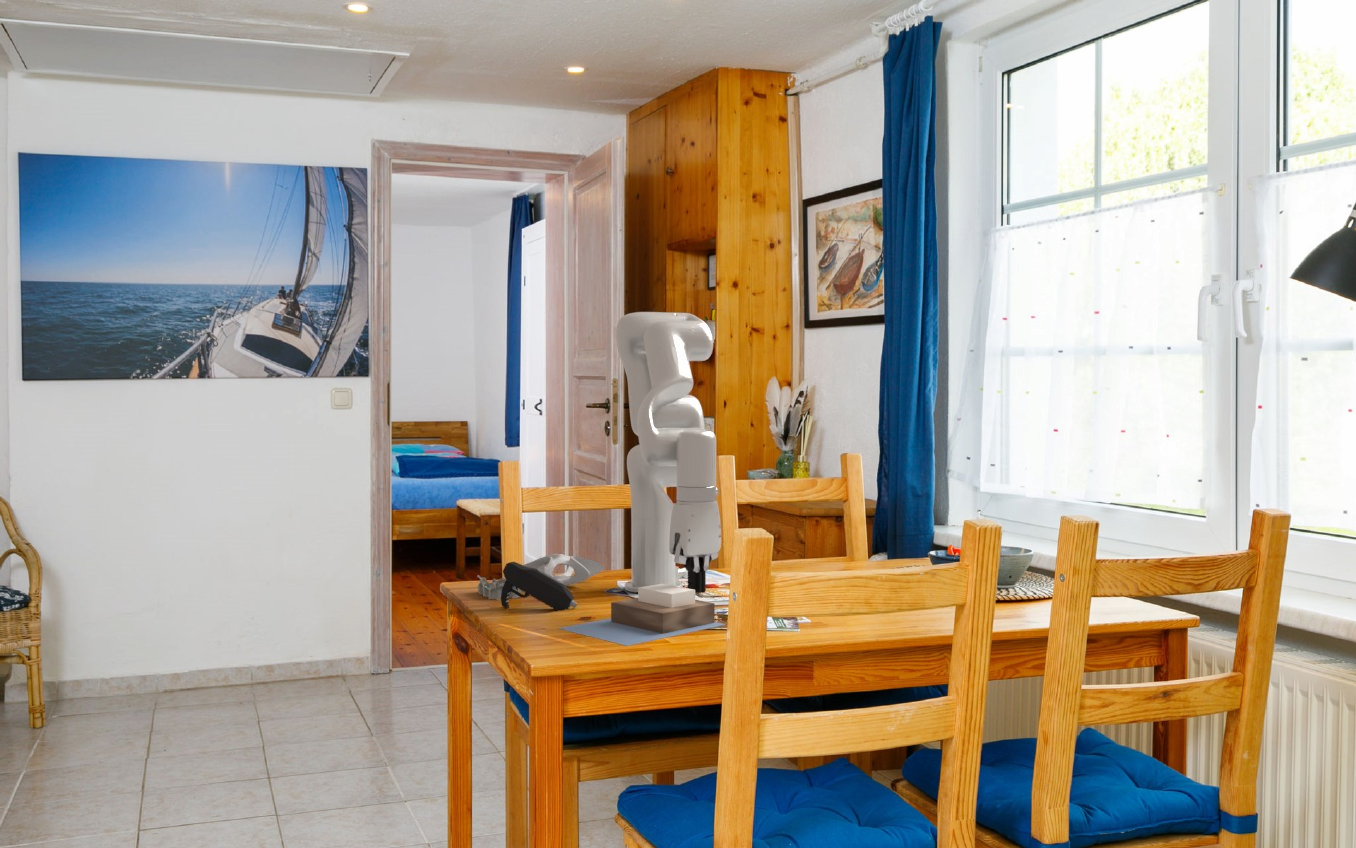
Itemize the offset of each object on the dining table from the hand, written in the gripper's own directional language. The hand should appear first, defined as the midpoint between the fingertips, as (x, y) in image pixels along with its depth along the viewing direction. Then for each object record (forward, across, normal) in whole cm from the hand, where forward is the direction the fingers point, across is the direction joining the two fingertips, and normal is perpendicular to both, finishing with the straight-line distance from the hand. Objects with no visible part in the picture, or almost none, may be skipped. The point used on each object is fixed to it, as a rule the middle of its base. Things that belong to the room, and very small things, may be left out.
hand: (696, 591), depth 212 cm
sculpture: (+5, -4, -48) cm, 48 cm away
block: (+4, +9, 0) cm, 10 cm away
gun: (+5, +16, -28) cm, 33 cm away
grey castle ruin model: (+5, +13, -46) cm, 48 cm away
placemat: (+5, +14, 0) cm, 15 cm away
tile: (+1, +8, 0) cm, 8 cm away
